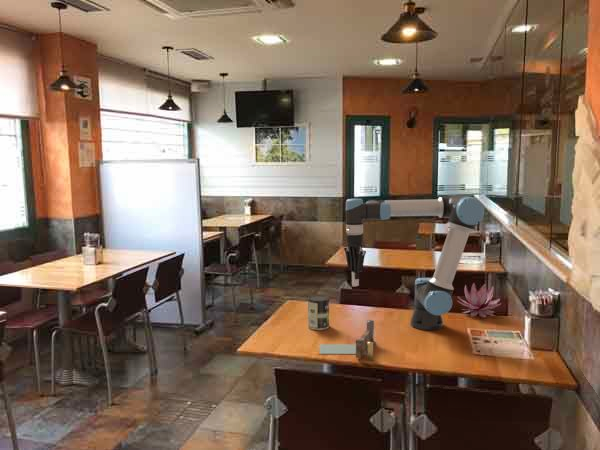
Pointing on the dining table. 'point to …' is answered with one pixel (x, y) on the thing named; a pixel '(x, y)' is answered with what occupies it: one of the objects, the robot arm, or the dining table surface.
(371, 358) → the post
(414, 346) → the dining table surface
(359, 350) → the gate
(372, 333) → the hinge post
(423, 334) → the dining table surface
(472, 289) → the decorative flower
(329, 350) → the mat
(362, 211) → the robot arm
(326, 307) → the coffee can
